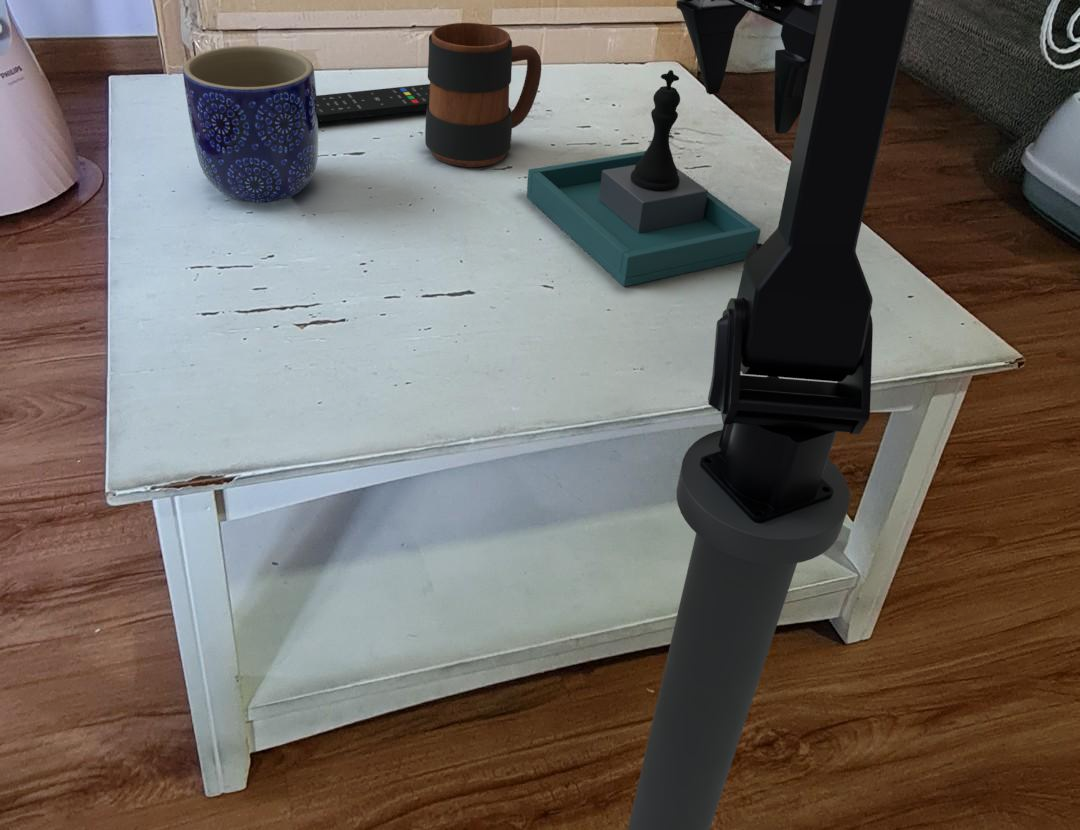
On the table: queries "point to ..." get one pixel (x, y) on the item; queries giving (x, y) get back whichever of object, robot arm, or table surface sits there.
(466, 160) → the mug
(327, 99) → the remote control
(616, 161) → the tray
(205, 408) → the table surface
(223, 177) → the planter
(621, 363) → the table surface
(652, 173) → the chess piece
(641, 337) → the table surface
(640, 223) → the block
